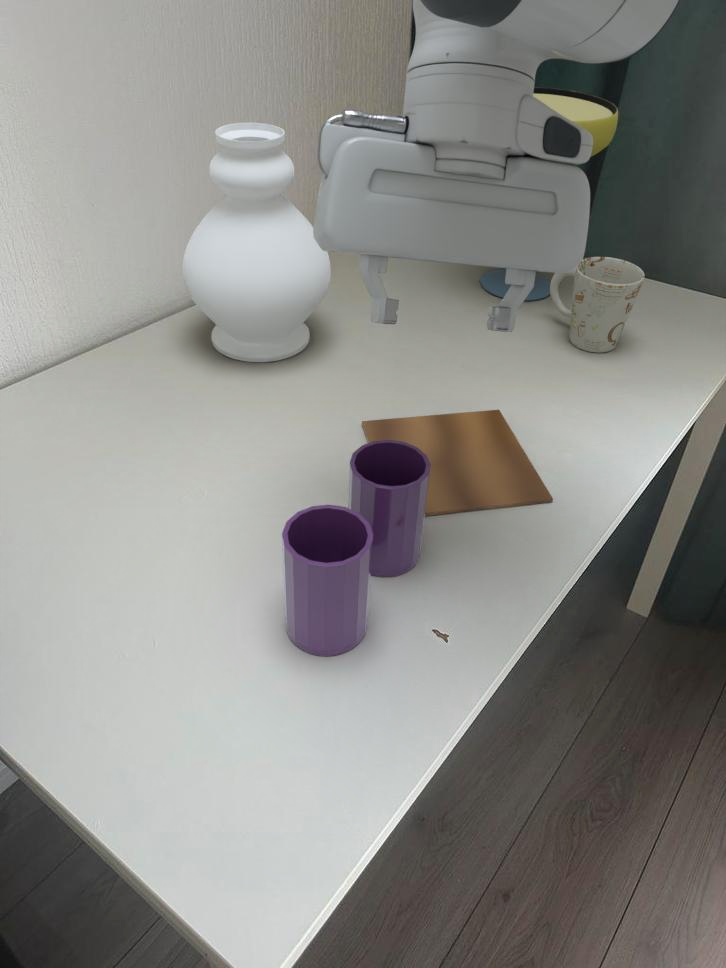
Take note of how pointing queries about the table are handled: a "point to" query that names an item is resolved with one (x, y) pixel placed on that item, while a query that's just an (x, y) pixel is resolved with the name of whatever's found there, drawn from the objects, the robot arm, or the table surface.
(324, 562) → the cup
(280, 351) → the decorative vase
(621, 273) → the mug
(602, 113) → the cocktail glass
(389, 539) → the cup
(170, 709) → the table surface
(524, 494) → the mat
